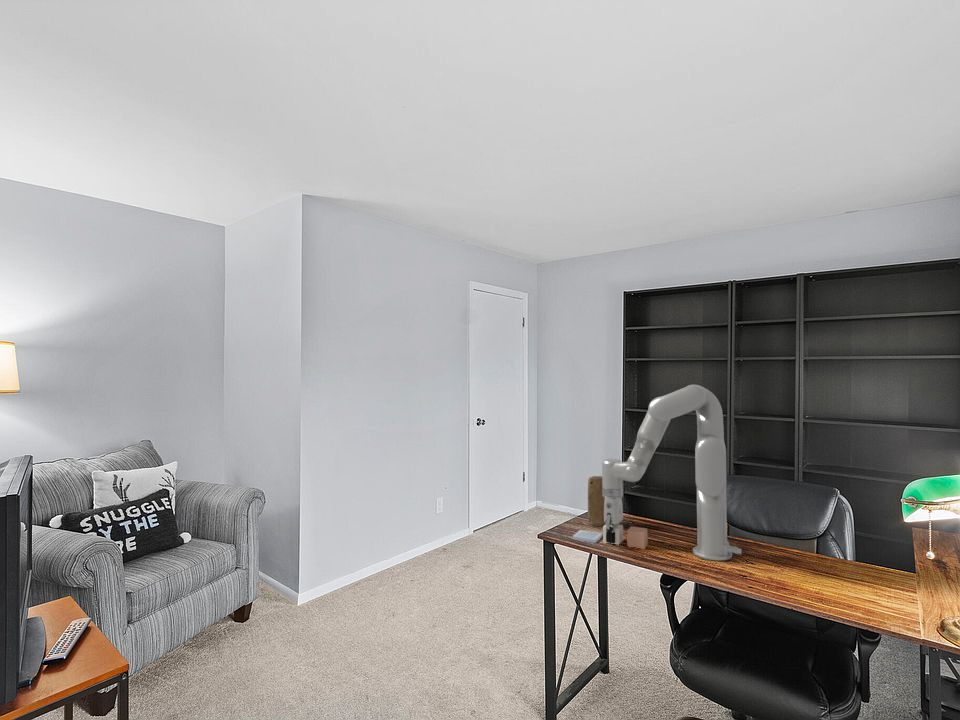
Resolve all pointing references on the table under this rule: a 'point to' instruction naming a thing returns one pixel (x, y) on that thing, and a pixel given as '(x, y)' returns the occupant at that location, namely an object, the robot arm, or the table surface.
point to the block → (596, 501)
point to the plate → (587, 536)
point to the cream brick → (618, 534)
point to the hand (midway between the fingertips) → (613, 539)
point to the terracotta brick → (637, 537)
